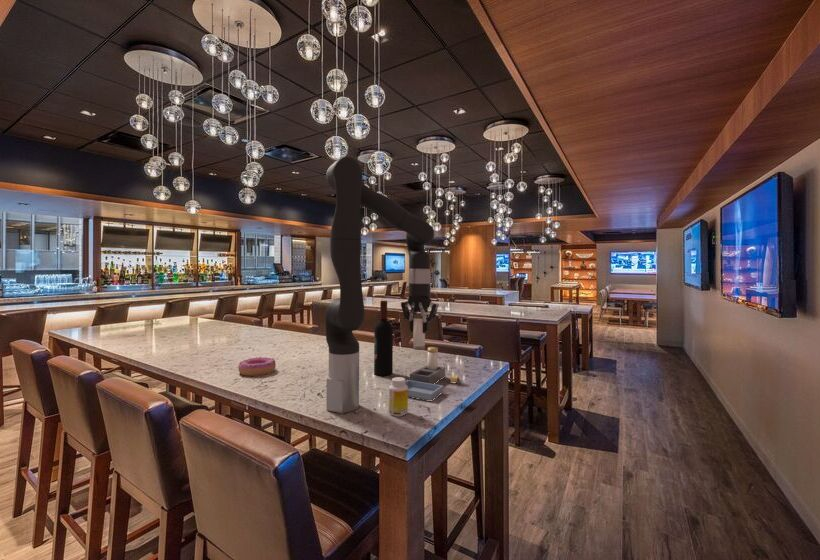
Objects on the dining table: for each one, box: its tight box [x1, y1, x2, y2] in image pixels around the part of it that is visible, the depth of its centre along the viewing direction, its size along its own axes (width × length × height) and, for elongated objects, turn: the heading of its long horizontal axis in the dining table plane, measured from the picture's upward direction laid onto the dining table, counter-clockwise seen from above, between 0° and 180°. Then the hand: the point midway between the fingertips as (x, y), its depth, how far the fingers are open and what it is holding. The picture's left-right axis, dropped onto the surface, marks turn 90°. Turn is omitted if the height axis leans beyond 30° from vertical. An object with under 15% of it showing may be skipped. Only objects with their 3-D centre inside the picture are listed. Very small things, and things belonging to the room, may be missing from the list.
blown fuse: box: [412, 312, 426, 351], centre depth 124 cm, size 4×4×12 cm
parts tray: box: [405, 379, 444, 401], centre depth 124 cm, size 14×10×2 cm
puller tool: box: [450, 374, 458, 383], centre depth 140 cm, size 8×2×1 cm, turn 172°
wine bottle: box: [373, 300, 394, 378], centre depth 148 cm, size 8×8×30 cm
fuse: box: [426, 346, 439, 371], centre depth 143 cm, size 4×4×12 cm
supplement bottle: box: [388, 376, 409, 417], centre depth 107 cm, size 6×6×10 cm
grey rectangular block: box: [409, 365, 446, 384], centre depth 139 cm, size 15×8×4 cm, turn 152°
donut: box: [237, 356, 277, 377], centre depth 150 cm, size 14×14×5 cm
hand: (419, 332), depth 124 cm, fingers closed on blown fuse, 4 cm apart
